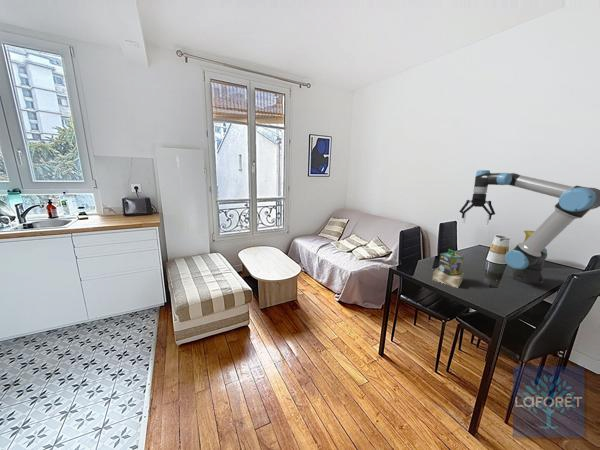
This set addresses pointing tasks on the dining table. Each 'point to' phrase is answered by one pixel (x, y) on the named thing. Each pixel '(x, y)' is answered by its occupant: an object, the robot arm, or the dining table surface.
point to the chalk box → (450, 263)
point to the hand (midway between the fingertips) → (475, 223)
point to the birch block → (448, 278)
